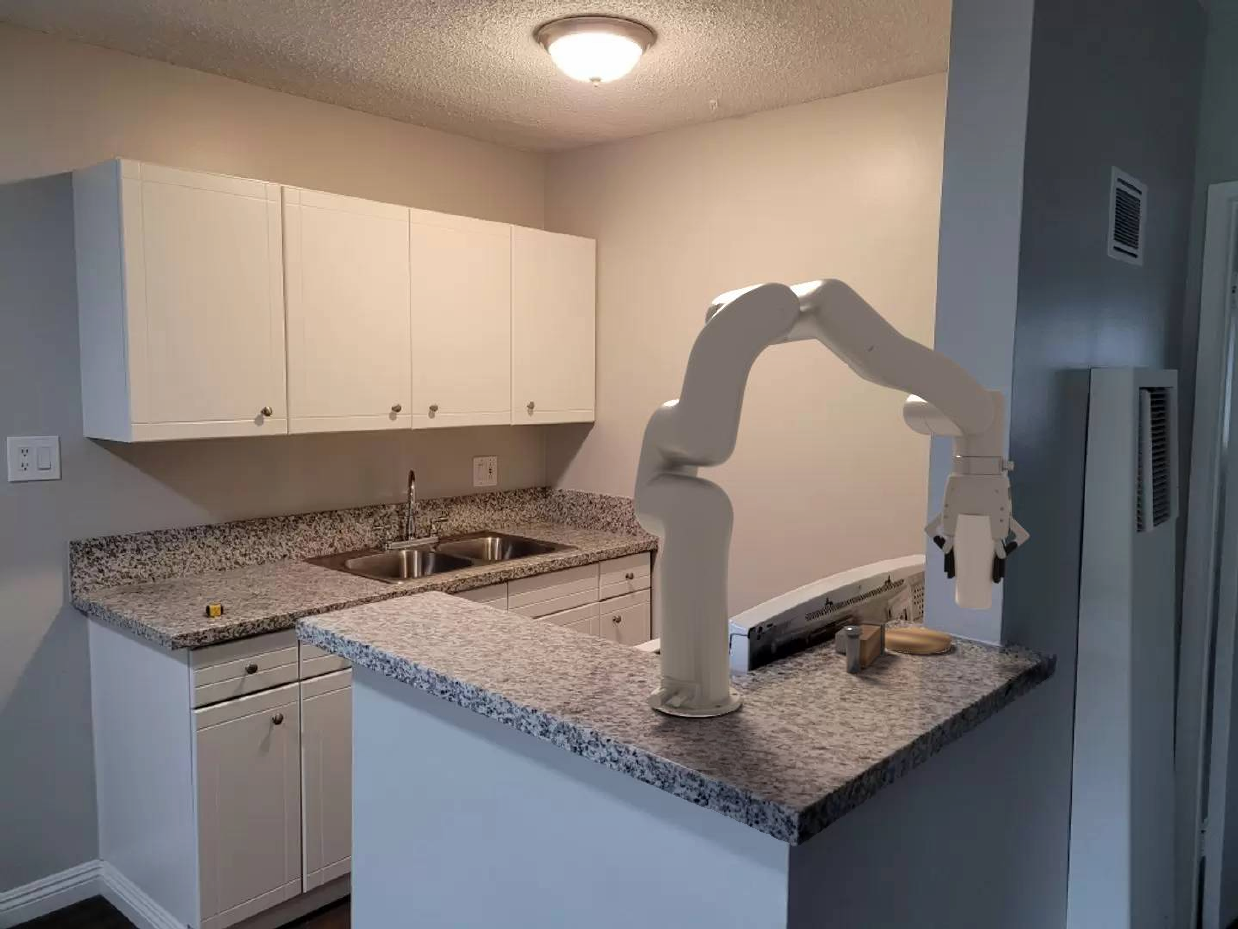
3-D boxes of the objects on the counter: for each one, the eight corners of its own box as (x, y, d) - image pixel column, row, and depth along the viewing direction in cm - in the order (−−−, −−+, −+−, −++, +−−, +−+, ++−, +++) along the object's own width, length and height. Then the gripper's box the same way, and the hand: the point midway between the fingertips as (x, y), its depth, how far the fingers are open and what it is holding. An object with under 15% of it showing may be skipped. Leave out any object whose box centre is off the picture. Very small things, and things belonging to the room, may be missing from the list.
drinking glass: (988, 602, 146) (991, 511, 145) (1002, 612, 139) (1005, 516, 138) (945, 601, 146) (948, 510, 145) (957, 610, 140) (960, 515, 139)
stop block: (849, 653, 146) (849, 635, 146) (835, 651, 148) (835, 634, 147) (856, 647, 150) (856, 630, 150) (842, 645, 151) (842, 628, 151)
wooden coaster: (943, 657, 143) (943, 648, 143) (874, 649, 149) (874, 640, 149) (956, 641, 152) (956, 632, 152) (891, 633, 158) (891, 625, 158)
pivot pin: (859, 675, 135) (859, 631, 135) (841, 672, 137) (841, 629, 136) (864, 670, 137) (864, 627, 137) (847, 667, 139) (846, 624, 138)
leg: (885, 649, 148) (885, 622, 147) (867, 668, 138) (867, 639, 138) (864, 647, 149) (864, 620, 149) (845, 665, 140) (845, 636, 139)
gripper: (1040, 468, 140) (1036, 581, 141) (926, 464, 149) (923, 570, 150) (1034, 471, 134) (1030, 589, 135) (915, 466, 143) (912, 577, 144)
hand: (974, 578), depth 142 cm, fingers closed on drinking glass, 6 cm apart
